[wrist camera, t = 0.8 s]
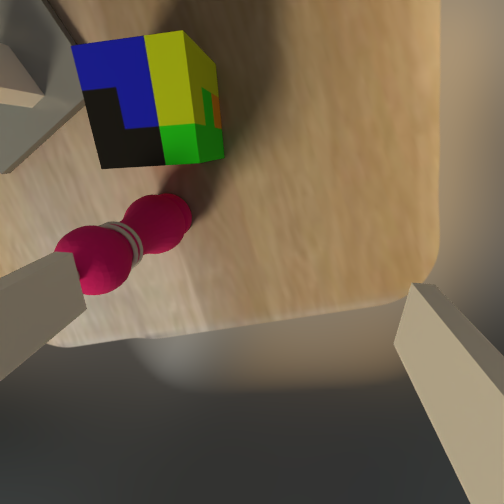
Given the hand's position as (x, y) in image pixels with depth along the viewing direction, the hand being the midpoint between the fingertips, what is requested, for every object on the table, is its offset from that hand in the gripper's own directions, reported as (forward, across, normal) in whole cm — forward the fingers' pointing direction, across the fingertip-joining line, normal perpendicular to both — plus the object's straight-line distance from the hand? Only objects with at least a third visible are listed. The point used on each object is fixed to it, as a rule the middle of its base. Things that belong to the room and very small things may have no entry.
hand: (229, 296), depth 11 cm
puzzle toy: (+27, -12, +8) cm, 30 cm away
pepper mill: (+26, -14, -5) cm, 30 cm away
